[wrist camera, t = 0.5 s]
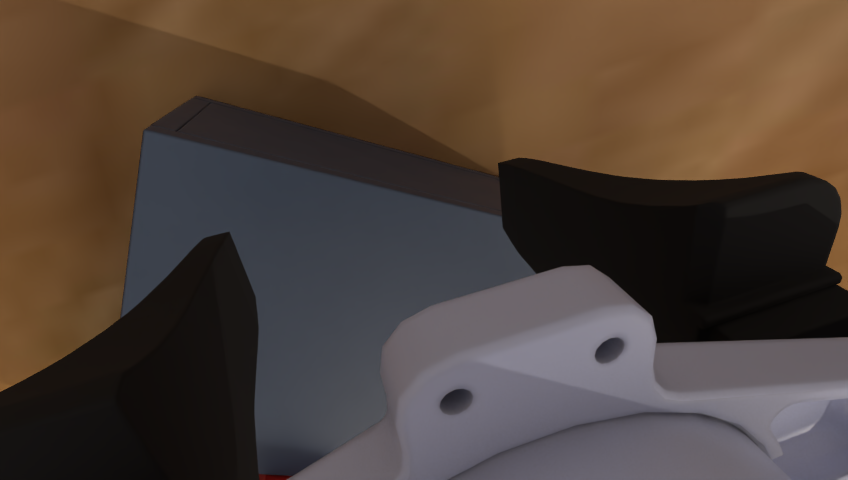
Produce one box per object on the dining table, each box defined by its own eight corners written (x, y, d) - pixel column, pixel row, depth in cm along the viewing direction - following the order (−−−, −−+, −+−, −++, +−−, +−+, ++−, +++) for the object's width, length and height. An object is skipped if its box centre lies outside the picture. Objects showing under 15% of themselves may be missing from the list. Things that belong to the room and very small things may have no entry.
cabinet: (429, 379, 29) (466, 486, 22) (156, 346, 24) (101, 466, 18) (504, 178, 25) (577, 234, 18) (195, 95, 20) (142, 128, 14)
